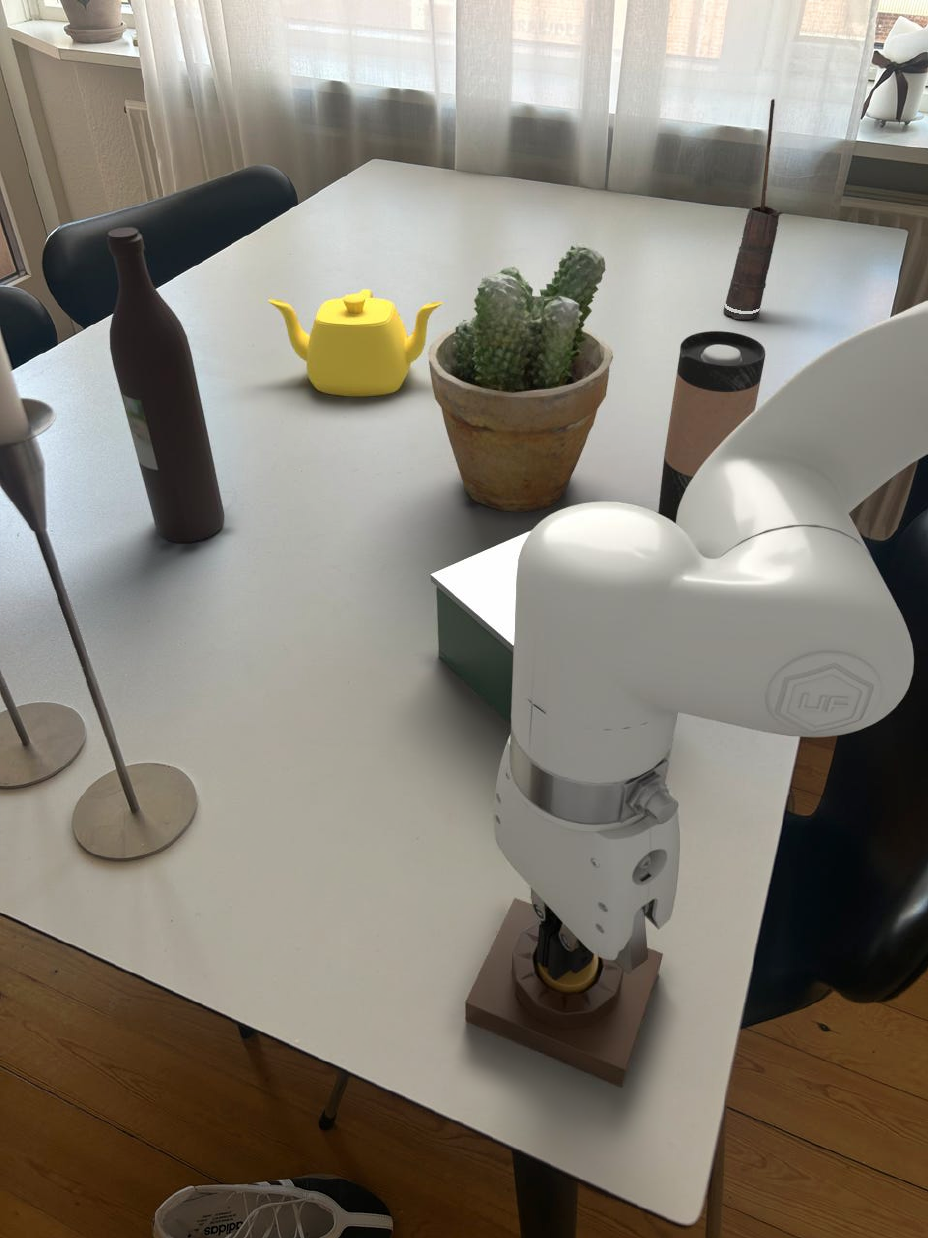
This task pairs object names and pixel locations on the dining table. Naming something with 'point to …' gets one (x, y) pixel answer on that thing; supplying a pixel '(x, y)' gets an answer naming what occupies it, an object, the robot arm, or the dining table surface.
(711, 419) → the travel mug
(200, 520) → the wine bottle
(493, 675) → the tin
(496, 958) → the button block
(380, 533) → the dining table surface
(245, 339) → the dining table surface
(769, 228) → the butter churn
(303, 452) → the dining table surface
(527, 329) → the potted plant
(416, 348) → the teapot
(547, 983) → the button
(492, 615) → the tin lid
